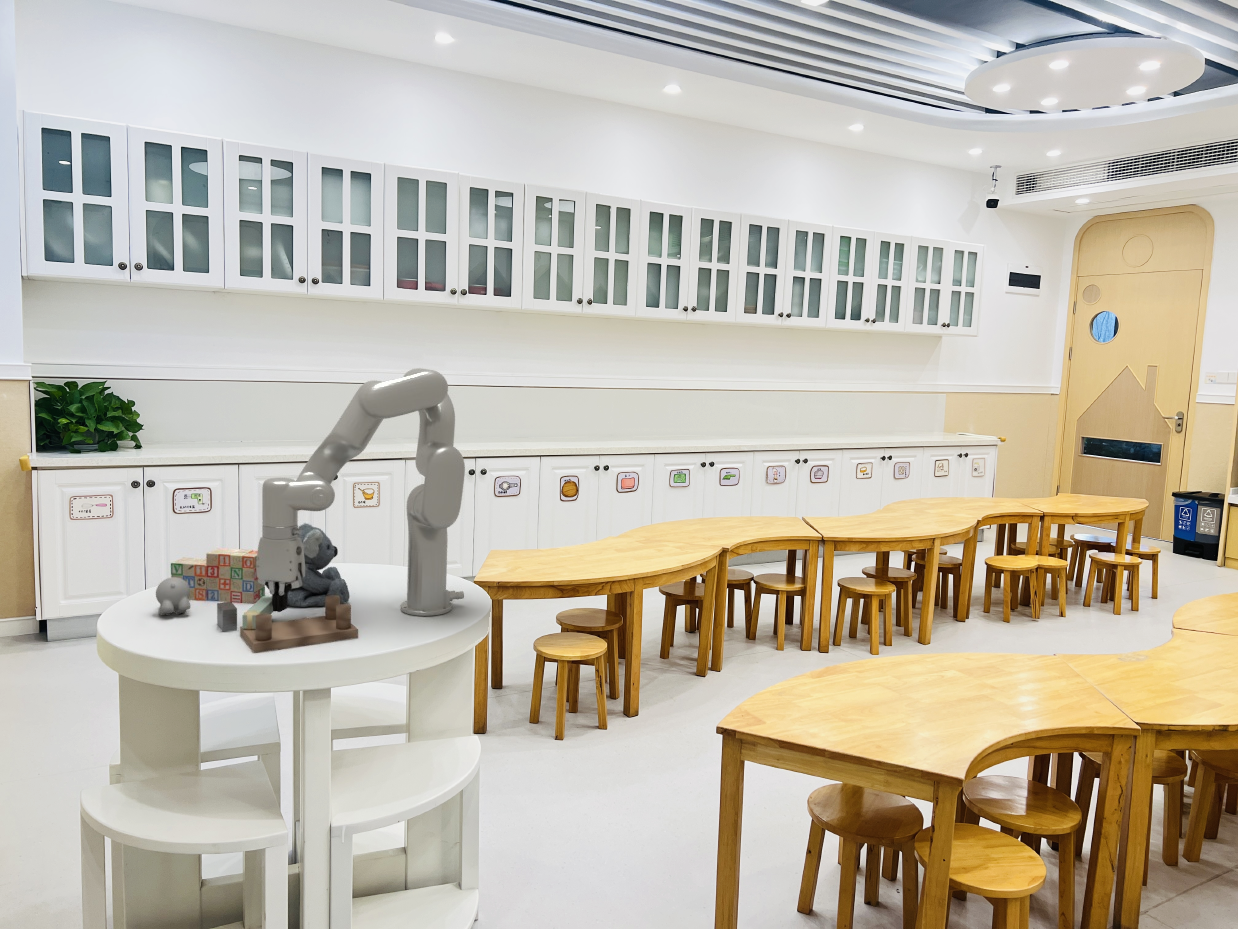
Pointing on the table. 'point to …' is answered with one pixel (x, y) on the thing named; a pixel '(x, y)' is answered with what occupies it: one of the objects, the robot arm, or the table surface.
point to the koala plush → (314, 582)
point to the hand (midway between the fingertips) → (279, 610)
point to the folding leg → (257, 611)
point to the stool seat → (301, 629)
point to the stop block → (226, 616)
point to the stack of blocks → (221, 576)
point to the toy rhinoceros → (173, 596)
